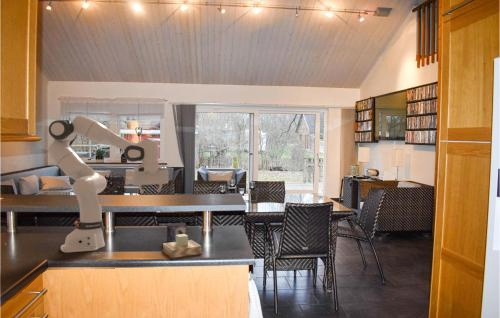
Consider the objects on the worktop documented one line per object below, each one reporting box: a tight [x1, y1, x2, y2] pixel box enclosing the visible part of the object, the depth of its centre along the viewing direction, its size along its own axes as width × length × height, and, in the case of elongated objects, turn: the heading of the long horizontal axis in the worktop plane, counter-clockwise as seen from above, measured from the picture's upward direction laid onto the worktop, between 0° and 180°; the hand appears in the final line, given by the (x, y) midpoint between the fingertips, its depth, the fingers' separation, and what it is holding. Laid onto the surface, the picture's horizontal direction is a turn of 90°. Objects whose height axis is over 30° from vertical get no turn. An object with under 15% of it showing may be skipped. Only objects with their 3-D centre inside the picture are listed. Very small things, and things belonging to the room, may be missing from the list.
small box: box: [166, 222, 187, 243], centre depth 241 cm, size 11×6×10 cm, turn 105°
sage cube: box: [176, 233, 189, 246], centre depth 222 cm, size 5×5×5 cm
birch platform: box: [162, 239, 202, 259], centre depth 222 cm, size 16×14×4 cm
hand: (150, 192), depth 235 cm, fingers open, 8 cm apart
